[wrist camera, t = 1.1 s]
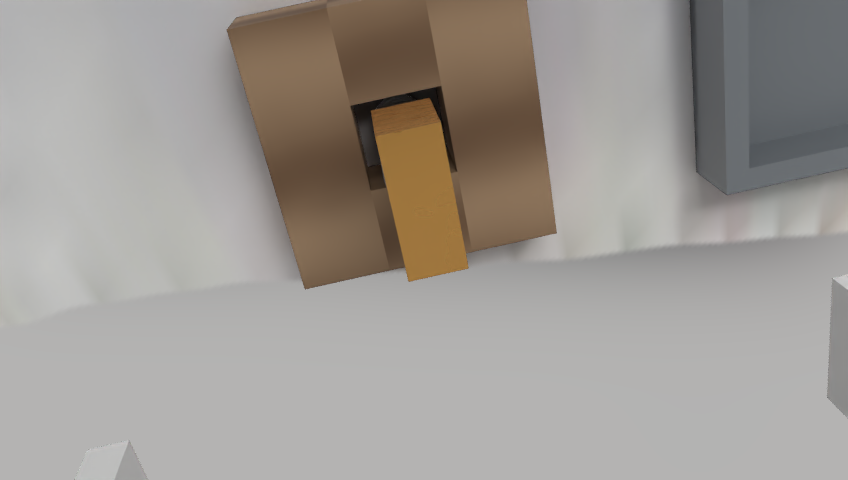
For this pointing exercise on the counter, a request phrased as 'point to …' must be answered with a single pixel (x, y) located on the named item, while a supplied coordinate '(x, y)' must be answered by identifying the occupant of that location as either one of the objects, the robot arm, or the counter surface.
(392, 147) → the tall wooden block
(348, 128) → the block
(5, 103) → the counter surface
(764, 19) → the parts tray
